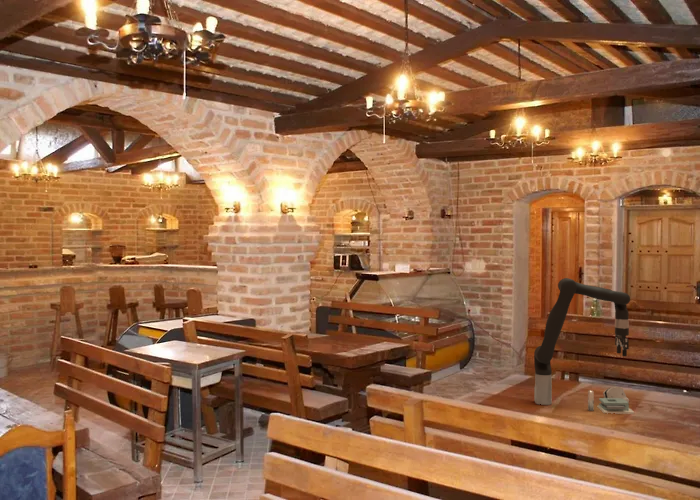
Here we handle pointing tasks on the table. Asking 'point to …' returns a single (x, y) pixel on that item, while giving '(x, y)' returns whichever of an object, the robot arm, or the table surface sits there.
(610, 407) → the square frame block
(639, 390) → the table surface
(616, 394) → the white black beveled block
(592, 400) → the pin
